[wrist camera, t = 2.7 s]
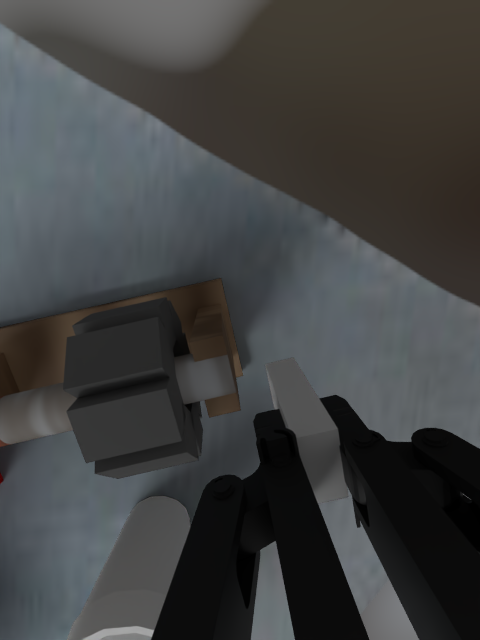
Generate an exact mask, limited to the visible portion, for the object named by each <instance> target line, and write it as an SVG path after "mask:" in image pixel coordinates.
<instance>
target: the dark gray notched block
mask: <svg viewBox="0 0 480 640" xmlns="http://www.w3.org/2000/svg"><path fill="white" fill-rule="evenodd" d="M72 327H73V330H74V333H75V336H70V337H67V342H66V355H65V368H64V382H63V390H64V391H66V392H67V393H69V394H71V395H72V396H74V397H76V398H77V399H76V400H75V402H74V403H73V404H72V405H71V406H70V407H69V409H68V410H67V411H66V413H67V415H68V418H69V421H70V423H71V426H72V428H73V431H74V433H75V436H76V439H77V441H78V444H79V446H80V449H81V452H82V454H83V457H84V459H85V462H86V463H89V462H93V461H95V474H99V475H103V476H108V477H112V478H117V479H119V478H124V477H128V476H132V475H137V474H141V473H145V472H150V471H154V470H158V469H163V468H167V467H171V466H175V465H180V464H184V463H188V462H193V461H197V460H199V458H198V456H201V449H202V434H203V428H202V425H201V421H200V418H202V414H201V407H200V401H198V402H194V403H190V404H185V405H184V403H183V399H182V396H181V392H180V389H179V385H178V382H177V378H176V372H175V362H174V357H178V356H182V355H187V354H190V350H189V346H188V343H187V339H186V335H185V332H184V333H182V325H181V321H180V319H179V317H178V315H177V313H176V311H175V309H174V307H173V305H172V303H171V301H170V300H169V301H167V297H164V298H159V299H155V300H151V301H146V302H142V303H137V304H133V305H128V306H124V307H119V308H115V309H110V310H106V311H101V312H97V313H92V314H90V315H88V316H87V317H85V318H83V319H82V320H80V321H79V322H77V323H75V324H74V325H72Z"/></svg>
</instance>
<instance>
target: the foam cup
mask: <svg viewBox="0 0 480 640" xmlns="http://www.w3.org/2000/svg"><path fill="white" fill-rule="evenodd" d="M189 530H190V518H189V515H188V512H187V509H186V508H185V507H184V506H183V505H182V504H181V503H180V502H179V501H178V500H176V499H173V498H169V497H166V496H153V497H149V498H147V499H144V500H142V501H140V502H138V503H137V505H136V506H135V507H134V508H133V510H132V511H131V512H130V515H129V516H128V518H127V520H126V522H125V524H124V526H123V528H122V530H121V532H120V534H119V536H118V538H117V540H116V542H115V545H114V547H113V549H112V551H111V553H110V555H109V557H108V559H107V561H106V563H105V565H104V567H103V569H102V571H101V573H100V575H99V577H98V579H97V581H96V583H95V585H94V587H93V589H92V592H91V594H90V596H89V598H88V600H87V602H86V604H85V606H84V608H83V610H82V612H81V614H80V615H79V616H78V618H77V619H76V620H75V621H74V623H73V625H72V627H71V630H70V633H69V635H68V638H67V640H151V638H152V635H153V632H154V629H155V627H156V624H157V621H158V618H159V615H160V612H161V610H162V607H163V604H164V601H165V598H166V595H167V592H168V590H169V587H170V584H171V581H172V578H173V575H174V573H175V570H176V567H177V564H178V561H179V558H180V555H181V553H182V550H183V547H184V544H185V541H186V538H187V536H188V533H189Z"/></svg>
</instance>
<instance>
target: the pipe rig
mask: <svg viewBox="0 0 480 640" xmlns="http://www.w3.org/2000/svg"><path fill="white" fill-rule="evenodd" d="M164 297H167V301H169V300H170V301H171V303H172V305H173V307H174V309H175V311H176V313H177V315H178V317H179V319H180V321H181V325H182V333H184V332H185V335H186V339H187V343H188V346H189V350H190V354H187V355H182V356H178V357H174V362H175V372H176V378H177V382H178V385H179V389H180V392H181V396H182V399H183V403H184V405H185V404H190V403H194V402H198V401H203V400H205V403H206V407H207V411H208V415H209V417H214V416H218V415H222V414H227V413H231V412H235V411H240V410H241V409H240V402H239V395H238V388H237V381H236V377H240V376H243V373H242V368H241V364H240V359H239V355H238V351H237V346H236V342H235V338H234V333H233V329H232V324H231V320H230V316H229V311H228V307H227V303H226V298H225V294H224V289H223V285H222V281H221V278H219V279H215V280H210V281H206V282H201V283H197V284H192V285H188V286H183V287H179V288H174V289H170V290H165V291H161V292H156V293H152V294H147V295H143V296H138V297H134V298H130V299H125V300H121V301H116V302H112V303H107V304H103V305H98V306H94V307H89V308H85V309H80V310H76V311H71V312H67V313H62V314H58V315H53V316H49V317H44V318H40V319H35V320H31V321H26V322H22V323H17V324H13V325H9V326H4V327H0V447H2V446H6V445H10V444H15V443H19V442H23V441H28V440H32V439H37V438H41V437H45V436H50V435H54V434H58V433H63V432H67V431H71V430H73V428H72V426H71V423H70V421H69V418H68V415H67V413H66V411H67V410H68V409H69V407H70V406H71V405H72V404H73V403H74V402H75V400H76V399H77V398H76V397H74V396H72V395H71V394H69V393H67V392H66V391H64V390H63V382H64V368H65V355H66V342H67V337H70V336H75V333H74V330H73V327H72V325H74V324H75V323H77V322H79V321H80V320H82V319H83V318H85V317H87V316H88V315H90V314H92V313H97V312H101V311H106V310H110V309H115V308H119V307H124V306H128V305H133V304H137V303H142V302H146V301H151V300H155V299H159V298H164Z"/></svg>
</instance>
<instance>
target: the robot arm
mask: <svg viewBox="0 0 480 640" xmlns="http://www.w3.org/2000/svg"><path fill="white" fill-rule="evenodd" d="M265 366H266V371H267V376H268V381H269V385H270V390H271V395H272V400H273V405H274V409H275V410H271V411H267V412H262V413H258V414H256V416H255V419H254V421H253V422H254V428H255V433H256V438H257V442H256V445H257V449H258V453H259V458H260V465H259V467H258V469H257V470H256V471H255V472H254V473H253V474H252V475H251V476H249V477H247V478H245V479H243V480H241V479H240V478H239V477H237V476H235V475H223V476H219V477H217V478H215V479H213V480H212V481H211V482H209V483H208V484H207V485H206V487H205V489H204V490H203V493H202V496H201V499H200V501H199V504H198V507H197V510H196V513H195V516H194V518H193V521H192V524H191V527H190V530H189V533H188V536H187V538H186V541H185V544H184V547H183V550H182V553H181V555H180V558H179V561H178V564H177V567H176V570H175V573H174V575H173V578H172V581H171V584H170V587H169V590H168V592H167V595H166V598H165V601H164V604H163V607H162V610H161V612H160V615H159V618H158V621H157V624H156V627H155V629H154V632H153V635H152V638H151V640H251V632H252V623H253V614H254V606H255V597H256V588H257V580H258V571H259V562H260V550H261V549H262V548H264V547H266V546H267V545H269V544H271V543H272V542H274V541H276V544H277V549H278V554H279V559H280V564H281V570H282V575H283V580H284V585H285V590H286V595H287V600H288V606H289V611H290V616H291V621H292V626H293V631H294V636H295V640H369V637H368V635H367V632H366V629H365V627H364V624H363V622H362V619H361V616H360V614H359V611H358V608H357V606H356V603H355V600H354V598H353V595H352V592H351V590H350V587H349V585H348V582H347V579H346V577H345V574H344V571H343V569H342V566H341V563H340V561H339V558H338V555H337V553H336V550H335V548H334V545H333V542H332V540H331V537H330V534H329V532H328V529H327V526H326V524H325V521H324V518H323V516H322V513H321V511H320V508H319V505H318V504H321V503H325V502H329V501H334V500H338V499H342V498H347V497H348V490H347V486H348V488H349V490H350V492H351V494H352V499H353V506H354V512H355V519H356V524H357V528H358V527H361V526H360V521H361V523H362V525H363V527H364V529H365V531H366V533H367V535H368V537H369V539H370V541H371V543H372V545H373V547H374V549H375V551H376V553H377V555H378V557H379V559H380V561H381V563H382V565H383V567H384V569H385V571H386V573H387V576H388V578H389V580H390V581H391V583H392V585H393V587H394V590H395V591H396V593H397V596H398V597H399V600H400V602H401V604H402V606H403V607H404V610H405V611H406V614H407V616H408V618H409V620H410V622H411V624H412V626H413V628H414V630H415V631H416V634H417V636H418V638H419V640H480V449H479V448H477V447H475V446H474V445H472V444H470V443H468V442H467V441H465V440H463V439H461V438H460V437H458V436H456V435H454V434H453V433H451V432H448V431H446V430H443V429H438V428H424V429H420V430H417V431H416V432H414V433H413V435H412V437H411V440H412V442H390V441H386V439H385V438H384V437H383V436H382V435H381V434H379V433H378V432H375V431H372V430H369V429H368V428H367V427H366V425H365V424H364V423H363V422H362V420H361V419H360V418H359V416H358V415H357V414H356V413H355V411H354V410H353V409H352V407H350V405H349V404H348V402H347V401H346V400H345V399H343V398H341V397H339V396H337V395H333V396H329V397H324V398H320V399H319V398H318V396H317V395H316V393H315V391H314V390H313V388H312V387H311V385H310V383H309V382H308V380H307V378H306V377H305V375H304V374H303V372H302V370H301V369H300V367H299V366H298V364H297V362H296V361H295V359H294V358H289V359H285V360H280V361H276V362H271V363H267V364H265ZM463 494H464V495H463ZM465 495H466V496H467V497H469V498H470V499H469V498H467V497H466V496H465Z"/></svg>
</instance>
